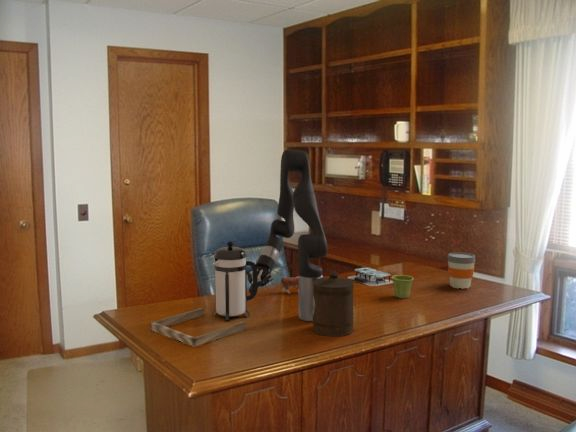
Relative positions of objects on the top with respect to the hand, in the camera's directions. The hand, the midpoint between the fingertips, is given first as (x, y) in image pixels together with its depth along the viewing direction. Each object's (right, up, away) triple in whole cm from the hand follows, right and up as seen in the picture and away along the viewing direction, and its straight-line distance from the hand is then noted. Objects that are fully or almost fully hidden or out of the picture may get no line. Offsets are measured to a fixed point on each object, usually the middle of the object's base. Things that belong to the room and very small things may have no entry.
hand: (251, 293), depth 239 cm
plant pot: (+66, -4, +16) cm, 68 cm away
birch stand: (-17, -10, -27) cm, 33 cm away
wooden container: (+32, -10, -27) cm, 43 cm away
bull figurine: (+19, -3, +23) cm, 30 cm away
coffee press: (-7, -8, -9) cm, 14 cm away
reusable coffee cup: (+97, -1, +34) cm, 103 cm away
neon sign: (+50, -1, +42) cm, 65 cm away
